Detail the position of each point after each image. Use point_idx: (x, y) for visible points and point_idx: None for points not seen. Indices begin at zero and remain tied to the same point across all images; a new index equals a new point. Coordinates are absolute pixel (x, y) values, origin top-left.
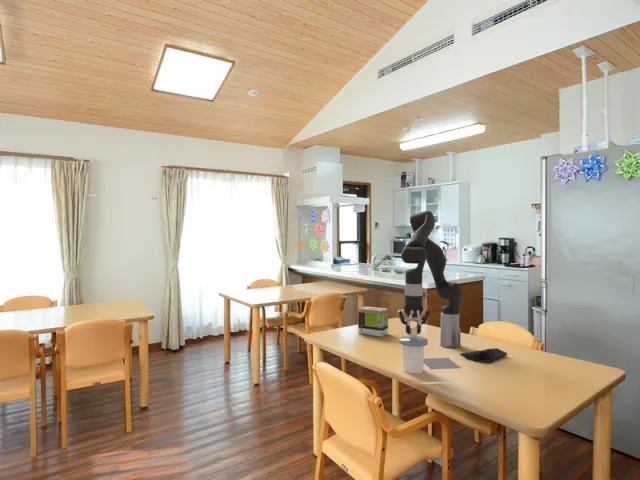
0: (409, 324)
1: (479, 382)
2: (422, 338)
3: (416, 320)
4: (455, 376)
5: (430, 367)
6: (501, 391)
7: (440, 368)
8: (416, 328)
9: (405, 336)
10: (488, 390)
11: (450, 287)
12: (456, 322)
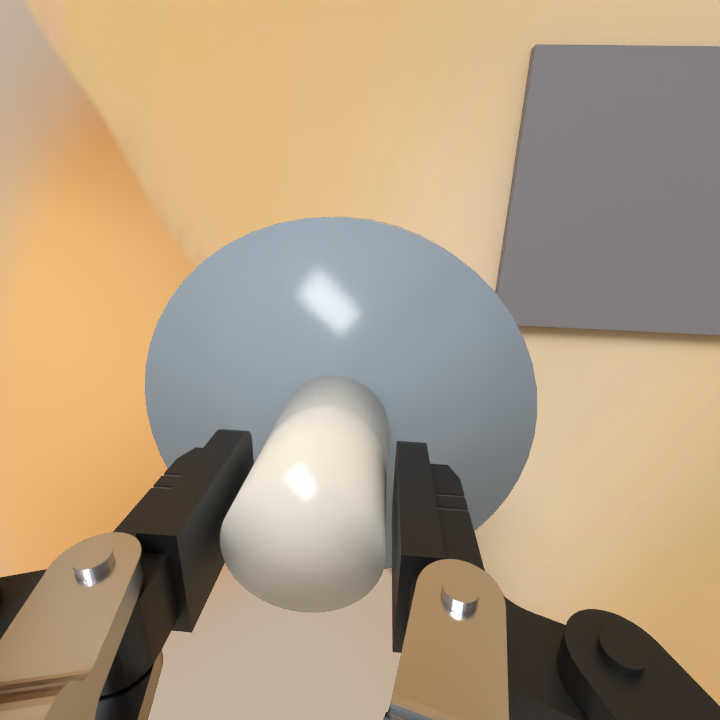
0: (156, 672)
1: (658, 532)
2: (479, 416)
3: (394, 688)
4: (587, 440)
5: (508, 295)
6: (673, 628)
7: (569, 325)
8: (347, 602)
9: (265, 274)
10: (621, 610)
11: None
12: None
